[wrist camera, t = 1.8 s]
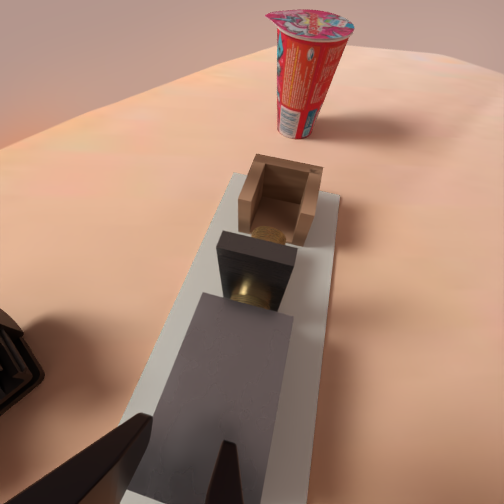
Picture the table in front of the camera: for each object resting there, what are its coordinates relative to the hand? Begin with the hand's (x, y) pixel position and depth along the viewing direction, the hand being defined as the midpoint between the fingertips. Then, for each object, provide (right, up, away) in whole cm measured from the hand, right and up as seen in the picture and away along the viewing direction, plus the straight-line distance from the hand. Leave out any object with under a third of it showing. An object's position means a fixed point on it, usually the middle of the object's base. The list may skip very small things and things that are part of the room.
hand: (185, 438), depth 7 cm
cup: (+8, +23, +30) cm, 39 cm away
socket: (+4, +9, +20) cm, 23 cm away
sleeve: (0, -5, +11) cm, 12 cm away
